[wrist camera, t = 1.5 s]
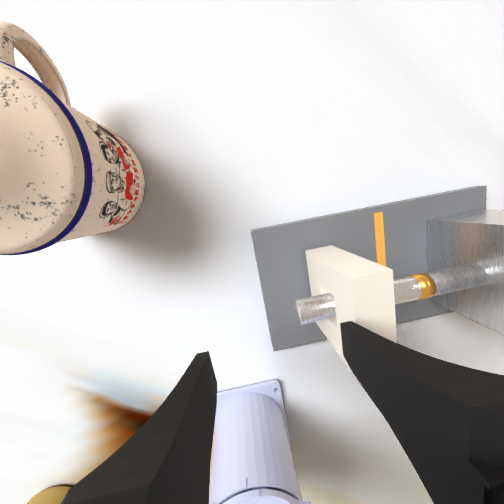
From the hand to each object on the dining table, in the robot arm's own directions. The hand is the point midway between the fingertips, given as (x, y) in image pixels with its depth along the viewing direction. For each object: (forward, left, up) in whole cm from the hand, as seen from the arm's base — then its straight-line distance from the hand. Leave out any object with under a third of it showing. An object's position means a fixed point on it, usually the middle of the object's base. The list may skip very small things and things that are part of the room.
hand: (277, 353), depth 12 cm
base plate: (-1, -11, -10) cm, 15 cm away
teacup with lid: (+13, +12, -11) cm, 21 cm away
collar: (-1, -6, -9) cm, 11 cm away
